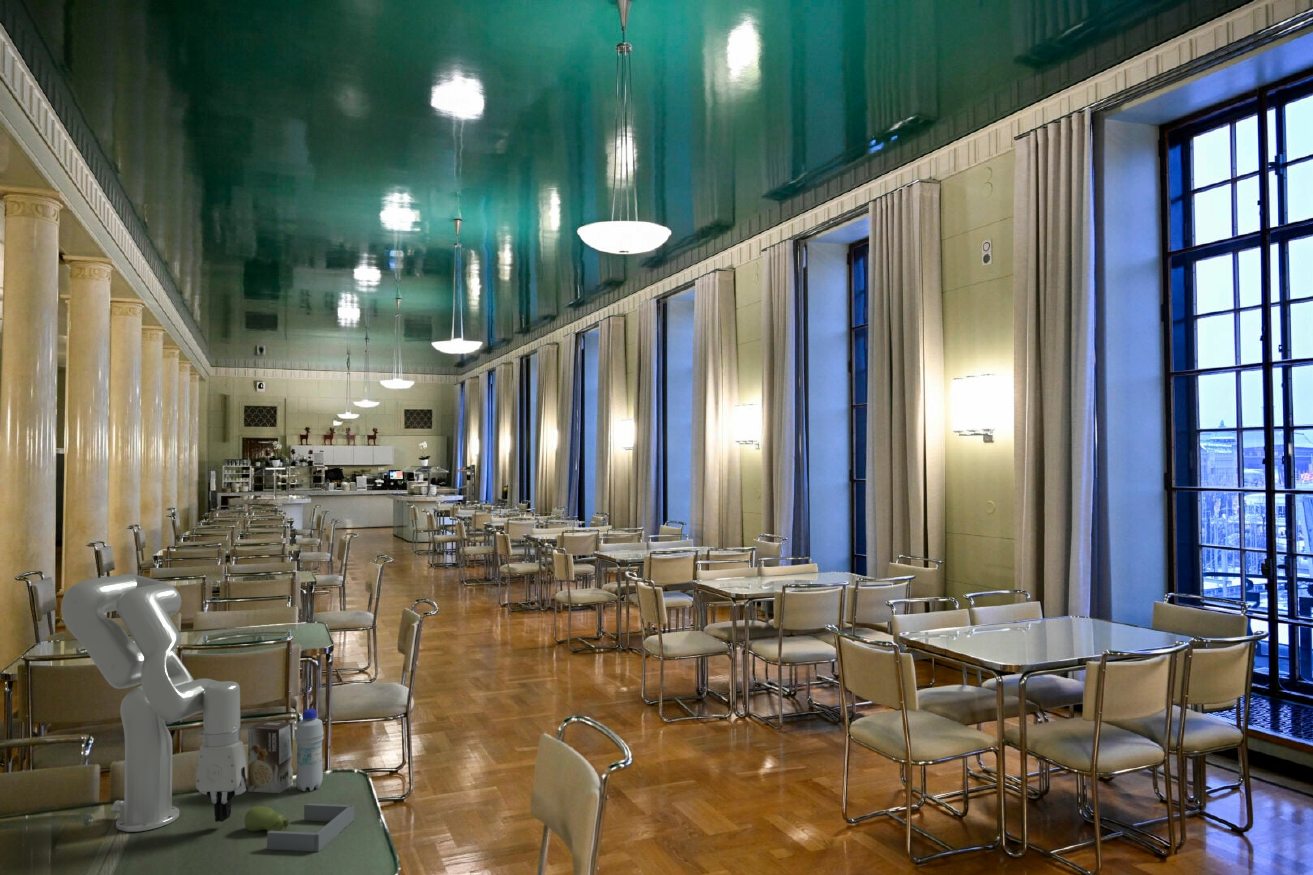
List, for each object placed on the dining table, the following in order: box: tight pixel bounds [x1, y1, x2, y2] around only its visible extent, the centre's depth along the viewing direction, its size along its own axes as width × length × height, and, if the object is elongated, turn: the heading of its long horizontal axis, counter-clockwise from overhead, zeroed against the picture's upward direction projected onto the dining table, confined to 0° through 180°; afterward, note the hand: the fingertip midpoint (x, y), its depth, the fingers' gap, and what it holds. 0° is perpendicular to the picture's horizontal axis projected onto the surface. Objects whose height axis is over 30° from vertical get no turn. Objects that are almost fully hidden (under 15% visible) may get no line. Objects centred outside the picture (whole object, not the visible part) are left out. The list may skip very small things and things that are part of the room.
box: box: [266, 802, 355, 853], centre depth 189 cm, size 12×16×4 cm
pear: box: [243, 805, 289, 833], centre depth 191 cm, size 6×5×10 cm
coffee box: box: [247, 720, 294, 794], centre depth 217 cm, size 9×6×16 cm
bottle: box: [295, 708, 325, 792], centre depth 217 cm, size 7×7×20 cm
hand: (222, 818), depth 193 cm, fingers closed
